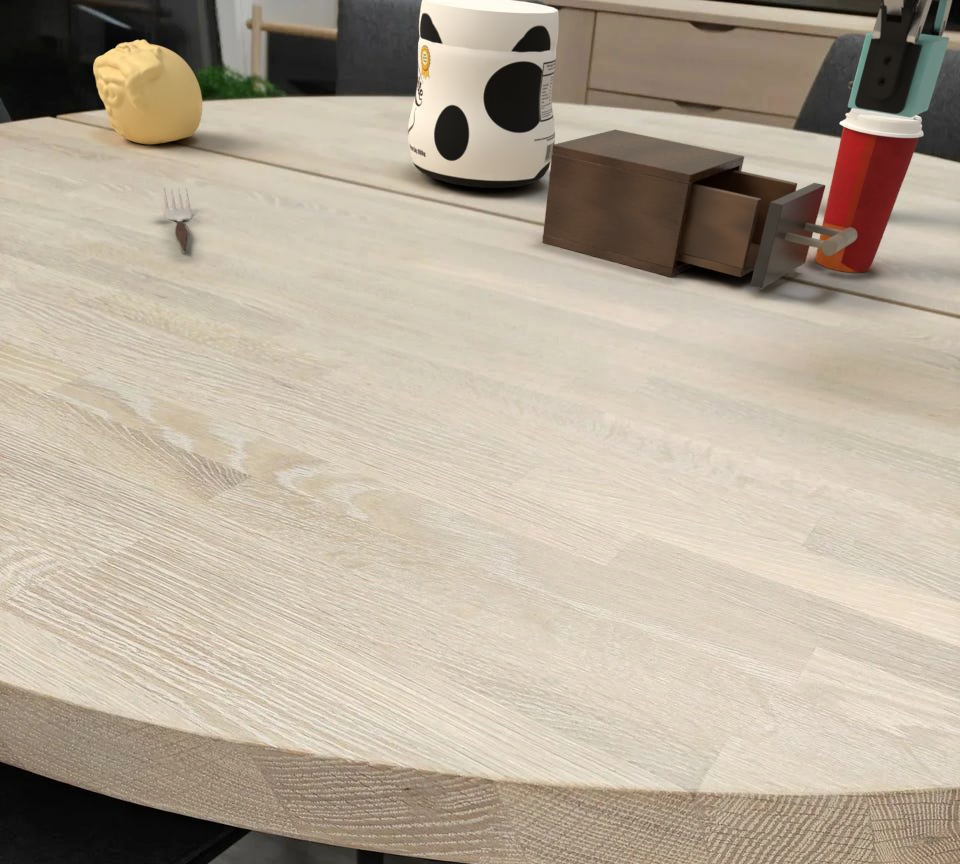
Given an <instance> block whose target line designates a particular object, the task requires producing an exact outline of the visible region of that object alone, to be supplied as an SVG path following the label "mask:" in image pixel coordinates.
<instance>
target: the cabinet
mask: <svg viewBox="0 0 960 864" xmlns="http://www.w3.org/2000/svg"><path fill="white" fill-rule="evenodd" d="M552 153H553V154H552V159H551V162H550V167H549V168H550V169H549V178H548V188H547V195H546V205H545V215H544V224H543V232H542V233H543V234H542V241H541V242H542V243H544V244H547V245H551V246H555V247H559V248H561V249H565V250H570V251H573V252H577V253H580V254H584V255H588V256H592V257H595V258H599V259H603V260H607V261H610V262H614V263H617V264H621V265H625V266H629V267H633V268H636V269H639V270H640V269H641V270H643V271H647V272H651V273H655V274H658V275H663V276H666V277H670V278H673V277H674V276H676V275H679V274H680V273H682V272H685V271H686V270H688V269H690V268H692V267H695V265H692V264H688V263H684V262H680V261H677V260H678V254H679V249H680V244H681V239H682V233H683V228H684V223H685V218H686V212H687V207H688V202H689V197H690V191H691V186H692V183H693V182H696V181H698V180H701V179H704V178H707V177H710V176H712V175H715V174H718V173H721V172H724V171H726V170H729V169H734V170H738V171H742V169H743V165H744V161H745V156H744V155H741V154H737V153H736V154H735V153H731V152H725V151H721V150H716V149H712V148H706V147H701V146H697V145H692V144H689V143H682V142H677V141H673V140H668V139H663V138H660V137H659V138H658V137H654V136H648V135H644V134H639V133H635V132H629V131H624V130H619V129H612V130H608V131H604V132H600V133H599V132H598V133H595V134H591V135H588V136H583V137H579V138H575V139H571V140H566V141H562V142H558V143H554V145H553V149H552Z"/></svg>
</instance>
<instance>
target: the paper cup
mask: <svg viewBox="0 0 960 864" xmlns="http://www.w3.org/2000/svg"><path fill="white" fill-rule="evenodd" d="M845 113H846V112H845ZM846 116H847V117H846V119H845V118H844V119H845V120H844V119H843V120H841V121H840V122H839V125H840V126H842V129H843V132H842V131H841V135H842V136H840V140H841V141H840V140H839V146H838V151H837V155H836V160H835V165H834V169H833V174H832V179H831V183H830V187H829V193H828V196H827V201H826V205H825V206H826V207H825V210H824V214H823V215H824V216H823V220H822V225H821V226H824V227H829V228H833V229H837V230H842V231H843V230H845V229H847V228H849V227H851V228H854V229H855V230H856V231H857V239H856V240H855V241H854V242H853V243H851V244H849V245H848V246H846V247H845V248H843V249H841V250H840V251H838V252H836V253H835V254H833V255H831V256H826V255H824V254H823V252H822V250H821V249H820V248H816V254H815V255H816V256H815V262H816V263H817V264H818V265H820V266H822V267H825V268H827V269H830V270H833V271H834V270H835V271H837V272H844V273H845V272H846V273H864V272H869V271H870V269H871V267H872V266H873V263H874V260H875V258H876V255H877V253H878V250H879V247H880V245H881V242H882V239H883V236H884V234H885V232H886V228H887V226H888V223H889V220H890V218H891V215H892V212H893V210H894V207H895V204H896V202H897V198H898V196H899V193H900V191H901V188H902V185H903V183H904V180H905V177H906V175H907V173H908V170H909V167H910V164H911V162H912V159H913V156H914V153H915V150H916V147H917V145H918V142H919V140H920V138H922V137H924V135H925V134H924V131H923V129H922V128H923V125H922V123H923V121H922V120H923V119H922V117H921V116H919V115H915V116H913V117H911V118H910V117H904V116H897V115H891V114H885V113H879V112H873V111H867V110H861V109H855V108H852V109H851V111H850V113H846ZM843 126H844V127H843ZM831 237H832V236H827V235H823V234H819V240H823V241H826V240H827V239H829V238H831Z"/></svg>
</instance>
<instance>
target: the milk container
mask: <svg viewBox="0 0 960 864" xmlns="http://www.w3.org/2000/svg"><path fill="white" fill-rule="evenodd" d="M420 3H421V4H420V10H419V11H420V12H419V19H418V31H419V32H418V33H419V38H418V43H417V83H416V90H415V96H414V99H413V102H412V107H411V111H410V115H409V119H408V127H407V140H408V141H407V142H408V149H409V156H410V159H411V161H412V164H413V165H414V167H415V168H416V169H417V170H418V171H420V172H421V173H423V174H425V175H426V176H428V177H431V178H432V179H435V180H438V181H441V182H445V183H447V184H451V185H459V186H463V187H471V188H480V189H508V188H515V187H516V188H517V187H523V186H526V185H530V184H533V183H536V182H539V180H541V179H542V178H543V177H544V176H545V175H546V174H547V172H548V170H549V168H550V167H551V159H552V154H553V153H552V149H553V145H554V144H556V128H555V118H554V112H553V86H554V77H555V70H556V69H555V68H556V61H557V46H558V41H559V33H560V32H559V29H560V28H559V27H560V26H559V25H560V24H559V23H560V22H559V21H560V16H559V10H558V8H556V7H552V6H549V5H545V4H539V3H534V2H529V1H523V0H421V2H420Z"/></svg>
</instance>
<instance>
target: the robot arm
mask: <svg viewBox="0 0 960 864" xmlns="http://www.w3.org/2000/svg"><path fill="white" fill-rule="evenodd" d="M952 4H953V0H881V1H880V6H879V11H878V14H877V17H876V20H875V24H874V26H873V30H872V32H873V35H872V39H871V42H870V46H869V50H868V53H867V57H866V61H865V65H864V69H863V73H862V76H861V80H860V84H859V88H858V92H857V95H856V99H855V105H856V107H858V108H862V109H868V110H874V111H880V112H886V113H892V114H898V113H900V112H902V111H903V110H904V108H905V104H906V101H907V97H908V94H909V90H910V87H911V84H912V80H913V77H914V73H915V70H916V66H917V63H918V59H919V56H920V52H921V49H922V46H923V45H919V44H917V42H918V40H919V37H920V35H921V34H927V35H934V36H942V37H943V36H944V33H945V29H946V26H947V23H948V18H949V14H950V11H951V7H952Z"/></svg>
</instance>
